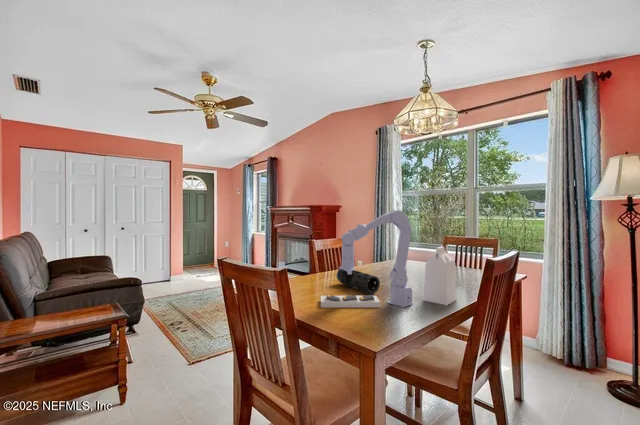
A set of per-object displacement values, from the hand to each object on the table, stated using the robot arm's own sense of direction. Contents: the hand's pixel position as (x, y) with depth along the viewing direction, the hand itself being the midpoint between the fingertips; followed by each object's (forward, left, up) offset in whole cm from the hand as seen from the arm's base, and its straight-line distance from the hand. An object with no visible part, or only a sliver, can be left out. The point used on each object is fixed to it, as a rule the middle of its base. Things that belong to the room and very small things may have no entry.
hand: (347, 286), depth 147 cm
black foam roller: (+14, -21, -8) cm, 26 cm away
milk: (-26, -38, -8) cm, 47 cm away
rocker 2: (-8, -4, -5) cm, 10 cm away
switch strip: (-2, +1, -8) cm, 8 cm away
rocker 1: (+2, +8, -5) cm, 10 cm away
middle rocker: (-3, +2, -5) cm, 6 cm away
